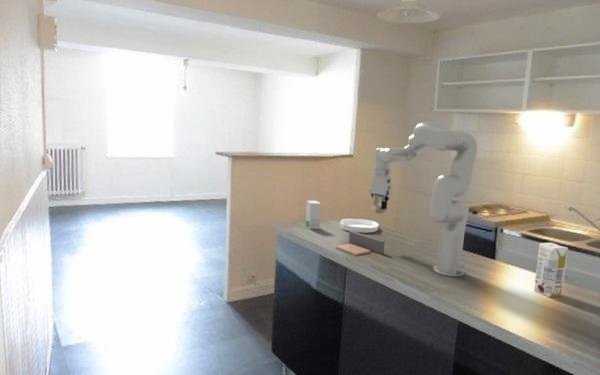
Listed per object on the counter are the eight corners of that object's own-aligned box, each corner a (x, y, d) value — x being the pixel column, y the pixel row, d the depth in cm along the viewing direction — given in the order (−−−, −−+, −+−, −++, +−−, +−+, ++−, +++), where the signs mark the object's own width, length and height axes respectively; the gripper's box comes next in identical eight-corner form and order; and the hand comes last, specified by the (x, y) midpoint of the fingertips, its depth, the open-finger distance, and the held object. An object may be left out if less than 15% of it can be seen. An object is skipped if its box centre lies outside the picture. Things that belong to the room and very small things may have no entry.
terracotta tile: (370, 252, 206) (370, 250, 206) (355, 255, 200) (355, 253, 200) (350, 245, 217) (350, 243, 217) (335, 248, 211) (335, 246, 211)
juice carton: (548, 298, 158) (555, 248, 155) (530, 289, 166) (536, 242, 163) (564, 297, 160) (571, 248, 157) (545, 288, 168) (552, 241, 165)
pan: (359, 222, 273) (360, 216, 272) (390, 232, 250) (391, 225, 250) (329, 225, 259) (329, 219, 259) (358, 236, 237) (359, 229, 237)
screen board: (383, 253, 206) (384, 241, 205) (380, 253, 205) (381, 241, 204) (351, 242, 223) (352, 231, 223) (348, 242, 222) (349, 231, 221)
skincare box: (305, 226, 255) (306, 200, 253) (315, 225, 257) (316, 200, 255) (309, 229, 247) (310, 203, 245) (320, 229, 249) (321, 202, 247)
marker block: (386, 213, 216) (387, 195, 215) (379, 213, 213) (380, 196, 212) (379, 211, 220) (380, 194, 219) (372, 212, 217) (373, 194, 216)
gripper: (400, 173, 209) (397, 210, 212) (374, 170, 223) (372, 204, 225) (389, 174, 205) (387, 211, 207) (364, 171, 218) (362, 206, 220)
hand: (379, 207), depth 216 cm, fingers closed on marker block, 5 cm apart
